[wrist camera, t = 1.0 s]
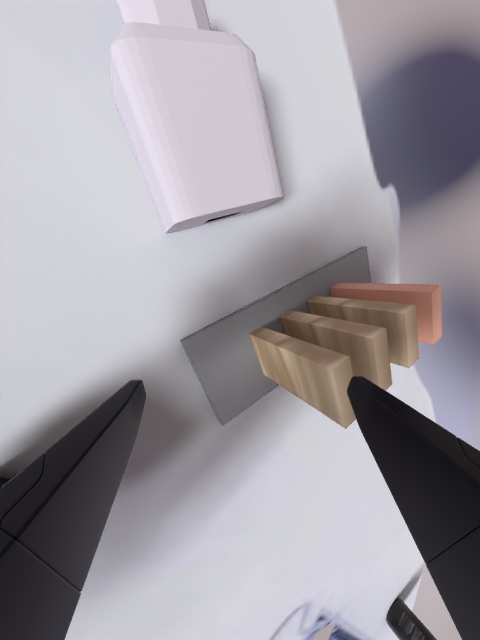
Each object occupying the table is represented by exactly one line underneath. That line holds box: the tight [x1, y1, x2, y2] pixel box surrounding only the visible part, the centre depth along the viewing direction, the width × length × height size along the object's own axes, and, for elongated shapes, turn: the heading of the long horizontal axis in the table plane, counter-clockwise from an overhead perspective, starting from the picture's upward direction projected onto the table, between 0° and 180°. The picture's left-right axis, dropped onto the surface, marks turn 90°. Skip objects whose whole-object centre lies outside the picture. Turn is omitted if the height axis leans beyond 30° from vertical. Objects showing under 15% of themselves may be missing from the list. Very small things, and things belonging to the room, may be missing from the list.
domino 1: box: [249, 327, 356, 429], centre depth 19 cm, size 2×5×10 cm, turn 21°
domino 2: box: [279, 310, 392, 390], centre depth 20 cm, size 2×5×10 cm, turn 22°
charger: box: [110, 0, 283, 233], centre depth 15 cm, size 5×9×15 cm
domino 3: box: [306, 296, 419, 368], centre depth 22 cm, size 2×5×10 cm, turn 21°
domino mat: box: [180, 247, 371, 426], centre depth 26 cm, size 26×10×1 cm, turn 111°
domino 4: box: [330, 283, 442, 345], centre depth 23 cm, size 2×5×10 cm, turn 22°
